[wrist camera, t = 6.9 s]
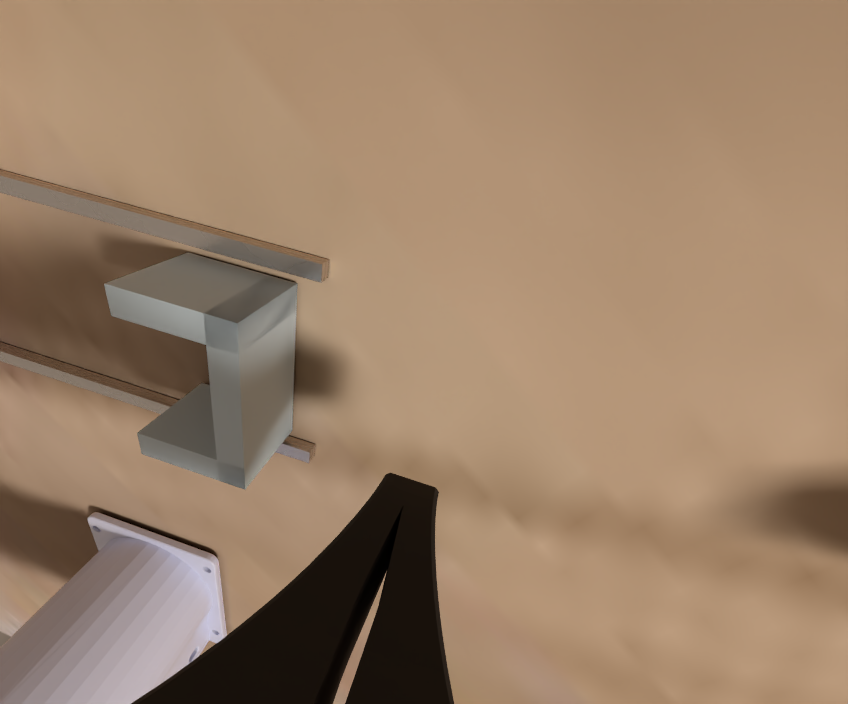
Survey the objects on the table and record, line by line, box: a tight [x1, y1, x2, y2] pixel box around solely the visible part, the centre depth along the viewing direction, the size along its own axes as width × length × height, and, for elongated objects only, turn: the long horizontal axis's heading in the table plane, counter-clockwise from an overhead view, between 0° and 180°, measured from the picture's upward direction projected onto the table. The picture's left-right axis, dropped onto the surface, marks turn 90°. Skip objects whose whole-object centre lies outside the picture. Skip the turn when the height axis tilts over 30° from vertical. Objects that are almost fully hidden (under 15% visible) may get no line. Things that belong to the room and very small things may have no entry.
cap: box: [104, 253, 297, 489], centre depth 14 cm, size 6×4×3 cm, turn 169°
